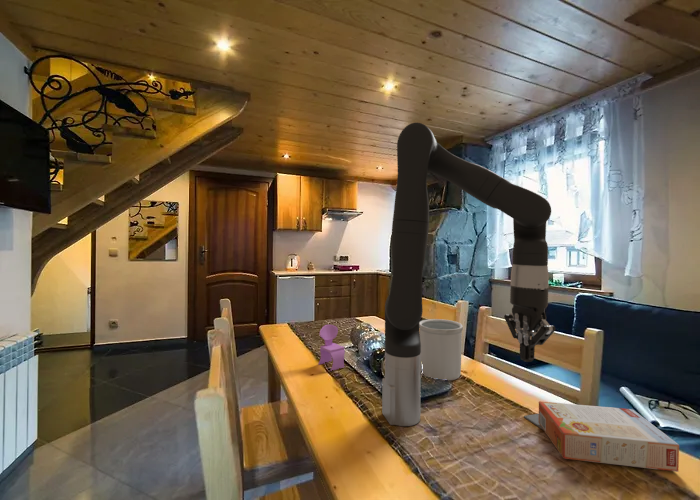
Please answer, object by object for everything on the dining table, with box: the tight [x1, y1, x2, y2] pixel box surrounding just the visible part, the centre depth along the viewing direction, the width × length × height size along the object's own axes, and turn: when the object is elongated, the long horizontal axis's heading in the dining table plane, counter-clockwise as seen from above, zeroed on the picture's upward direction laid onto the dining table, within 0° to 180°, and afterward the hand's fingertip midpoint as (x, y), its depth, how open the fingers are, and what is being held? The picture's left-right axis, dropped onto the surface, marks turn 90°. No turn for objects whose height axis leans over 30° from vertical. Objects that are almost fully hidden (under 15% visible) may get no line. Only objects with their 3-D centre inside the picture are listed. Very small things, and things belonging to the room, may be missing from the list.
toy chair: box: [317, 323, 346, 372], centre depth 120 cm, size 8×9×15 cm
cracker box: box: [538, 400, 680, 473], centre depth 72 cm, size 14×6×21 cm
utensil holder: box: [419, 318, 464, 381], centre depth 114 cm, size 15×15×18 cm
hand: (526, 360), depth 73 cm, fingers closed
